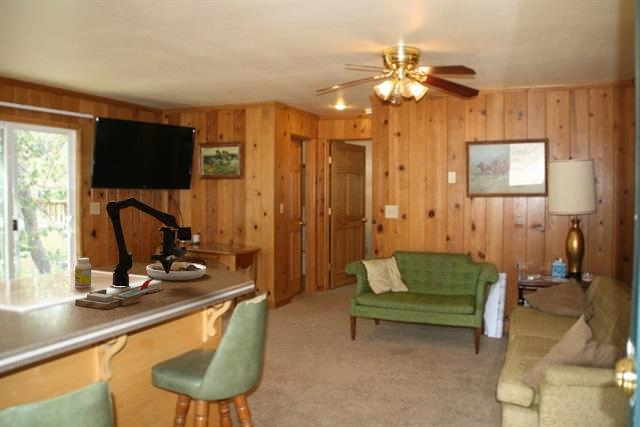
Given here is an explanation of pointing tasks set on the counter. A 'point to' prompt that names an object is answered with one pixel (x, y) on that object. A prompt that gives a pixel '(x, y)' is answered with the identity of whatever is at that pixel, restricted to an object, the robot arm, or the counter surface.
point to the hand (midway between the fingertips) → (167, 273)
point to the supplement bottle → (83, 273)
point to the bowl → (177, 271)
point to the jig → (110, 304)
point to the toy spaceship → (140, 290)
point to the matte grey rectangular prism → (100, 297)
